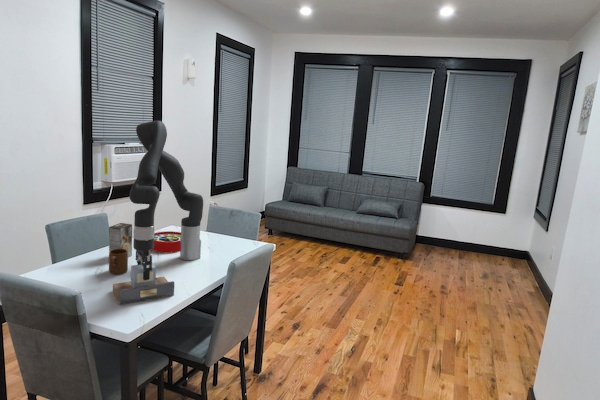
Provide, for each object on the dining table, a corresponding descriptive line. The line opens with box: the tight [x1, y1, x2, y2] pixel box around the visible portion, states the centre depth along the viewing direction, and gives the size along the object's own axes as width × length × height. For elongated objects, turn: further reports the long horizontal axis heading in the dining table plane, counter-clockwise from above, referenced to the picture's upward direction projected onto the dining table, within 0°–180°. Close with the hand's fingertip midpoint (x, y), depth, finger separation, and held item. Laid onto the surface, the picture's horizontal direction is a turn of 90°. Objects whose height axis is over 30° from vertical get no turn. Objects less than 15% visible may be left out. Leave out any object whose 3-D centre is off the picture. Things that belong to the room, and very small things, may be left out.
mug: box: [108, 249, 129, 275], centre depth 175 cm, size 12×8×9 cm, turn 3°
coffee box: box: [108, 222, 133, 258], centre depth 194 cm, size 9×6×16 cm
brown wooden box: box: [112, 275, 175, 306], centre depth 159 cm, size 20×14×6 cm
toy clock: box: [151, 230, 181, 254], centre depth 216 cm, size 20×6×20 cm
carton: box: [130, 263, 157, 288], centre depth 158 cm, size 6×8×8 cm
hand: (143, 275), depth 158 cm, fingers open, 8 cm apart
